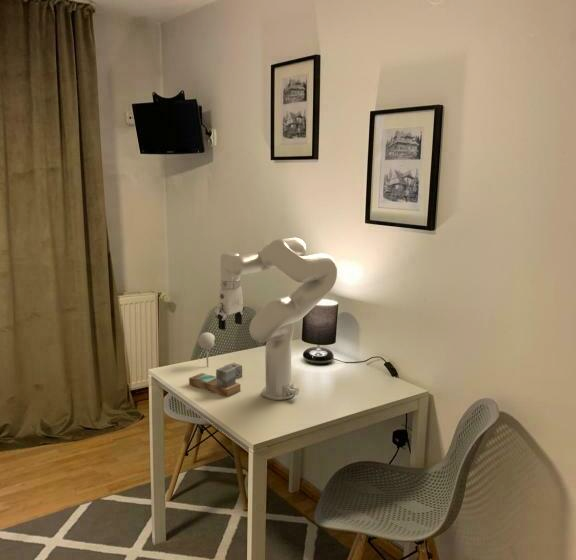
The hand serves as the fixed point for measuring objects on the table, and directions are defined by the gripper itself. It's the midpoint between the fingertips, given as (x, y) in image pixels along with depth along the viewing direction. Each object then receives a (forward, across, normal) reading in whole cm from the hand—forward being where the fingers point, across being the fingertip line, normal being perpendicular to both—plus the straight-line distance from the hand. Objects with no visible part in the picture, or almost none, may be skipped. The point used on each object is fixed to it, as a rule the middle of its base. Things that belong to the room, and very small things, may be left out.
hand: (230, 326), depth 222 cm
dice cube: (+21, 0, -1) cm, 21 cm away
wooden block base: (+21, -13, -3) cm, 25 cm away
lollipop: (+22, +4, +16) cm, 27 cm away
